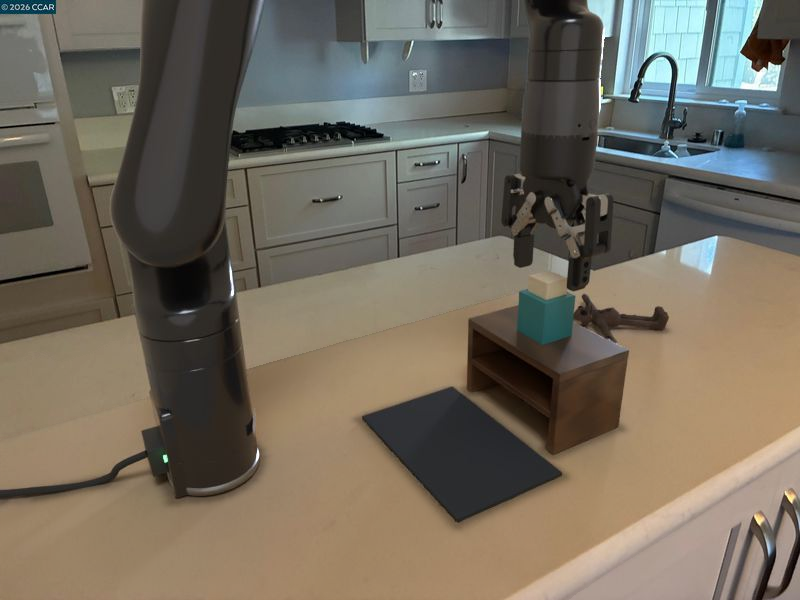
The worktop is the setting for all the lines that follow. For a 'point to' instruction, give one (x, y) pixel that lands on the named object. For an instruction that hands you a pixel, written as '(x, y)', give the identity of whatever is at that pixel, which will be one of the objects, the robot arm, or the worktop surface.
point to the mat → (460, 452)
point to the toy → (546, 308)
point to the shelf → (551, 375)
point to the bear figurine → (616, 318)
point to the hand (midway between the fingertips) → (548, 277)
